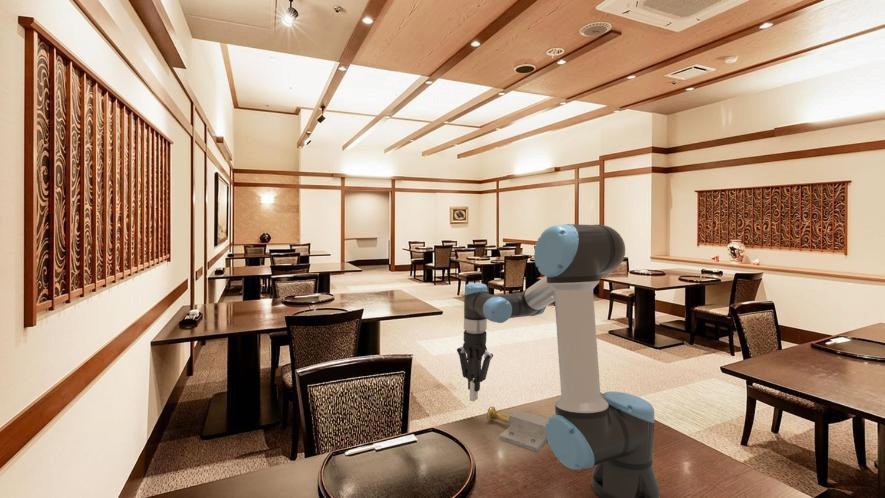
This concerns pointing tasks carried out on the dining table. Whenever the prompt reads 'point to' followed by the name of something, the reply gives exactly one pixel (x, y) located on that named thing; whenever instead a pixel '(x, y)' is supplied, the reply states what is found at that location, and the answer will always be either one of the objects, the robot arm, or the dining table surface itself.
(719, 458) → the dining table surface
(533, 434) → the grey mounting bracket
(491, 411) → the pin
